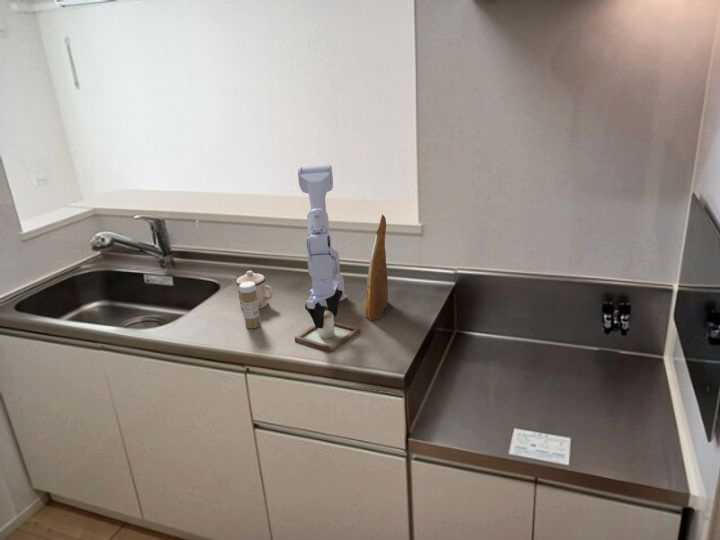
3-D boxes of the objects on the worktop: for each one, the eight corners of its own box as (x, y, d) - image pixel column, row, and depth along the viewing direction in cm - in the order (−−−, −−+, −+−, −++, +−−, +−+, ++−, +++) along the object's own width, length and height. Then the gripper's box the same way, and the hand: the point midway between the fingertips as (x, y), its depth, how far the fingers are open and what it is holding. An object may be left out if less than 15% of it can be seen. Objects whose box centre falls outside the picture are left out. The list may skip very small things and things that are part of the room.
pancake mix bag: (396, 297, 181) (392, 212, 171) (383, 324, 164) (378, 232, 154) (375, 296, 183) (371, 212, 173) (360, 323, 166) (354, 231, 156)
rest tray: (324, 322, 168) (323, 318, 167) (360, 332, 161) (359, 328, 160) (294, 341, 158) (294, 337, 158) (331, 352, 151) (331, 348, 150)
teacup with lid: (234, 309, 180) (229, 275, 176) (249, 297, 188) (244, 265, 184) (267, 313, 176) (262, 278, 172) (281, 301, 184) (277, 268, 179)
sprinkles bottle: (256, 320, 172) (250, 279, 167) (263, 325, 168) (258, 283, 163) (242, 325, 169) (236, 284, 164) (250, 330, 166) (243, 288, 161)
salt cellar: (324, 330, 162) (322, 309, 160) (337, 332, 160) (336, 311, 158) (316, 336, 159) (314, 315, 156) (329, 339, 156) (327, 318, 154)
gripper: (322, 265, 160) (326, 308, 165) (294, 284, 148) (300, 330, 154) (344, 267, 157) (348, 312, 162) (318, 288, 145) (322, 335, 150)
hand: (326, 321), depth 158 cm, fingers open, 7 cm apart
